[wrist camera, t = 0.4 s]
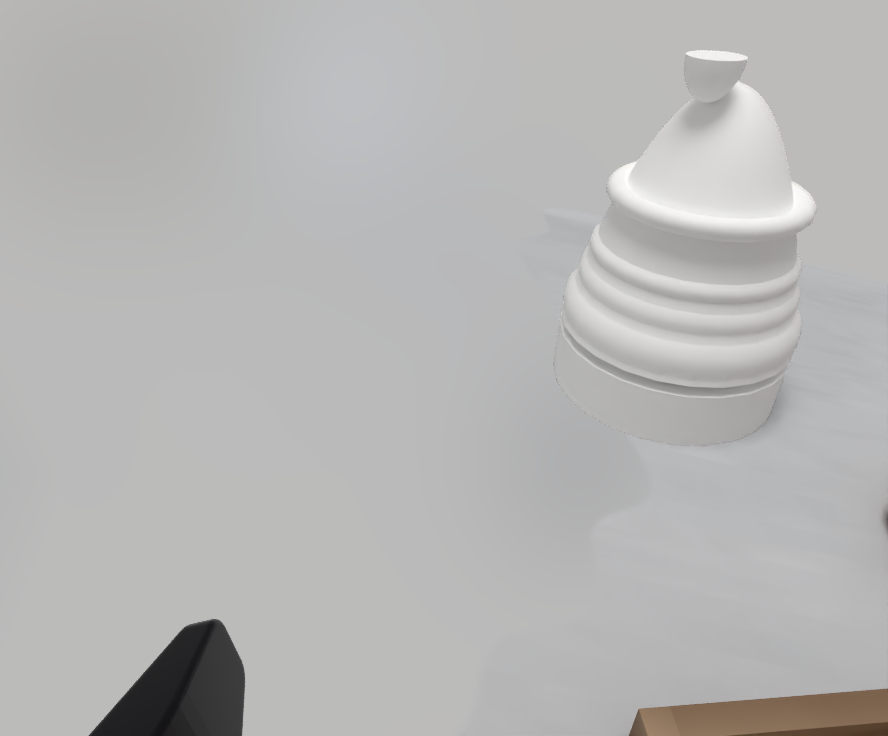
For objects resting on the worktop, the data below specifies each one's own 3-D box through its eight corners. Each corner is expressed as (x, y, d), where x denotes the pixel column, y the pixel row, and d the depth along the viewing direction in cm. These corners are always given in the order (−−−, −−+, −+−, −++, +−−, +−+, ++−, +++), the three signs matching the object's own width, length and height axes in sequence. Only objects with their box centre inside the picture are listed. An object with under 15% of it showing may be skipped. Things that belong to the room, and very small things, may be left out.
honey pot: (679, 480, 32) (800, 97, 22) (510, 360, 41) (539, 42, 30) (816, 391, 39) (960, 61, 28) (645, 303, 47) (708, 24, 37)
